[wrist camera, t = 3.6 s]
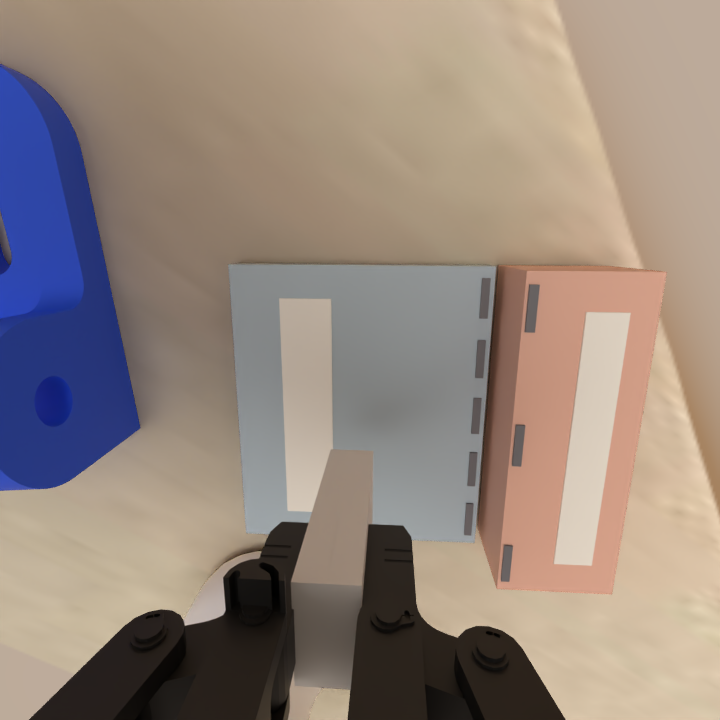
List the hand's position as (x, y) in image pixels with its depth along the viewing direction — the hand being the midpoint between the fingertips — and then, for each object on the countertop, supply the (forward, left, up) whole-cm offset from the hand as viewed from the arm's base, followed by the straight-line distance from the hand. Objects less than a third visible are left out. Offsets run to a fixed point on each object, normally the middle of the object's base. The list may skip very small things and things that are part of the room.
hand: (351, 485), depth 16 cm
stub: (0, +9, -8) cm, 12 cm away
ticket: (0, 0, -8) cm, 8 cm away
